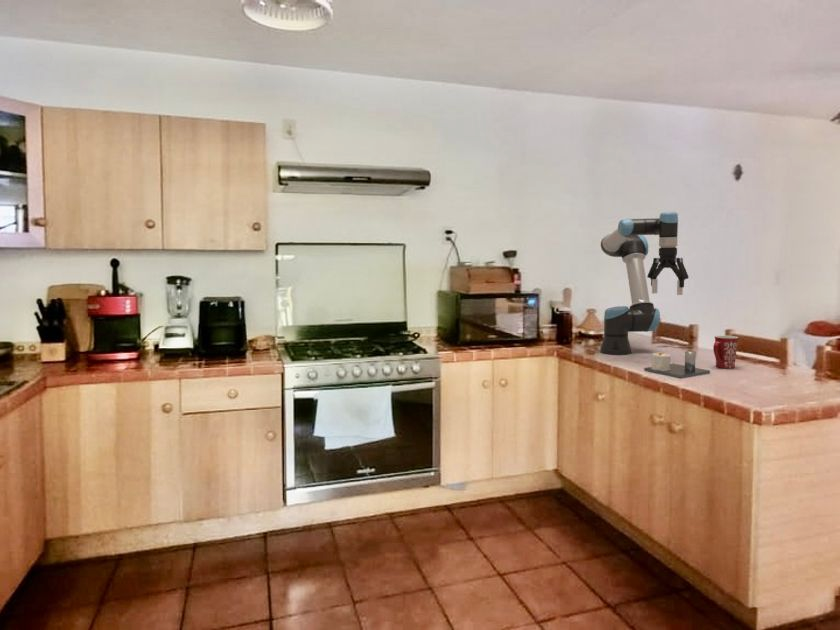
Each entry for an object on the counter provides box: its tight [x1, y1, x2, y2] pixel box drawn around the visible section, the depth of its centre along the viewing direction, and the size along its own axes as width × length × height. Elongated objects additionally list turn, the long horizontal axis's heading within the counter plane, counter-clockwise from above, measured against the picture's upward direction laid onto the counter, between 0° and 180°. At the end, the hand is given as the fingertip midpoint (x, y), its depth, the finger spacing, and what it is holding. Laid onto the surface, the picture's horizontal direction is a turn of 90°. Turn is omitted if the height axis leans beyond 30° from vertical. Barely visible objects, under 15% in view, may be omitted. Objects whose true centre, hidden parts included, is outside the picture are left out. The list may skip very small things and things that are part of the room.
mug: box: [712, 334, 739, 369], centre depth 242 cm, size 13×9×14 cm
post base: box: [644, 350, 711, 379], centre depth 235 cm, size 18×18×9 cm
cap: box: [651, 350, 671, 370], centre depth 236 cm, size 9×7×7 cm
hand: (666, 294), depth 252 cm, fingers open, 13 cm apart
